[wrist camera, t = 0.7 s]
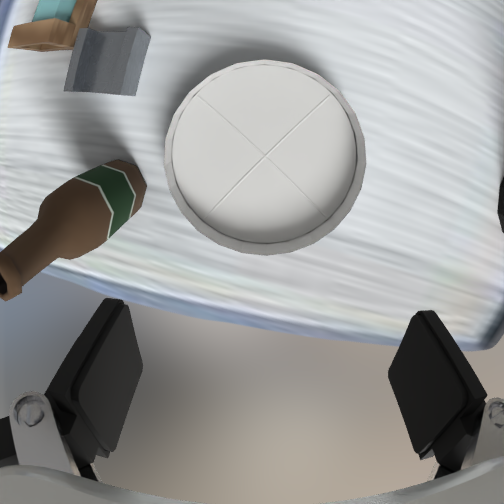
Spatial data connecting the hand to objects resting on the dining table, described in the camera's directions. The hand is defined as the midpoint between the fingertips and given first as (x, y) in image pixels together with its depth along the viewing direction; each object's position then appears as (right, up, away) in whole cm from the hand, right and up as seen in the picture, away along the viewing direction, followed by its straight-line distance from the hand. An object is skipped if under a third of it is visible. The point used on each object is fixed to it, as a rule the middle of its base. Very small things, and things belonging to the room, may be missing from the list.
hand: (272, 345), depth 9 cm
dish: (+1, +15, +26) cm, 30 cm away
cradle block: (-17, +26, +20) cm, 37 cm away
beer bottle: (-18, +11, +27) cm, 34 cm away
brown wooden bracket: (-25, +36, +15) cm, 47 cm away
